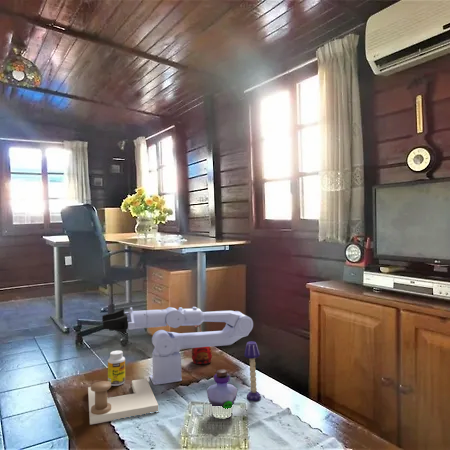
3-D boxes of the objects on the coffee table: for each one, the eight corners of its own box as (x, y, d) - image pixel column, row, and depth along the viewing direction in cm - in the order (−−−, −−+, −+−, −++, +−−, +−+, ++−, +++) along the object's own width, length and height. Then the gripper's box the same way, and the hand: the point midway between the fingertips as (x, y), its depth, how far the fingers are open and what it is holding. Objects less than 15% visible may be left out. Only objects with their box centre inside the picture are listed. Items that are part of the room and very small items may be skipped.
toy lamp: (249, 403, 112) (249, 345, 112) (241, 396, 116) (241, 341, 116) (263, 399, 114) (263, 343, 114) (255, 393, 118) (254, 339, 118)
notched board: (146, 384, 125) (146, 357, 126) (158, 412, 107) (158, 380, 107) (88, 393, 119) (87, 365, 119) (89, 424, 100) (89, 391, 100)
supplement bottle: (110, 388, 123) (110, 356, 123) (105, 382, 128) (105, 351, 128) (127, 384, 126) (127, 352, 126) (122, 378, 131) (121, 348, 131)
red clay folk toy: (193, 366, 142) (192, 325, 142) (190, 359, 148) (190, 321, 148) (213, 364, 143) (213, 324, 143) (209, 358, 150) (209, 319, 150)
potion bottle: (222, 426, 99) (222, 379, 99) (199, 415, 105) (199, 371, 105) (244, 414, 105) (243, 370, 105) (221, 404, 111) (221, 362, 111)
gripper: (142, 302, 134) (102, 304, 130) (149, 312, 121) (103, 314, 116) (142, 322, 135) (101, 325, 130) (148, 334, 121) (103, 338, 116)
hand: (102, 321), depth 123 cm, fingers open, 7 cm apart
